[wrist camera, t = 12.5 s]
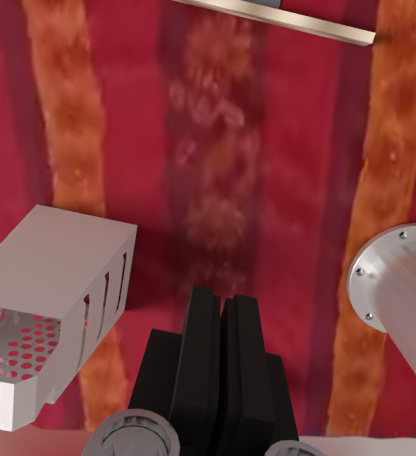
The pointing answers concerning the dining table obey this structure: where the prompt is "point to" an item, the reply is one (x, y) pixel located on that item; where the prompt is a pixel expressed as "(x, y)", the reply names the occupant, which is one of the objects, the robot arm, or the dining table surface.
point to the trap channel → (286, 19)
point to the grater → (57, 301)
